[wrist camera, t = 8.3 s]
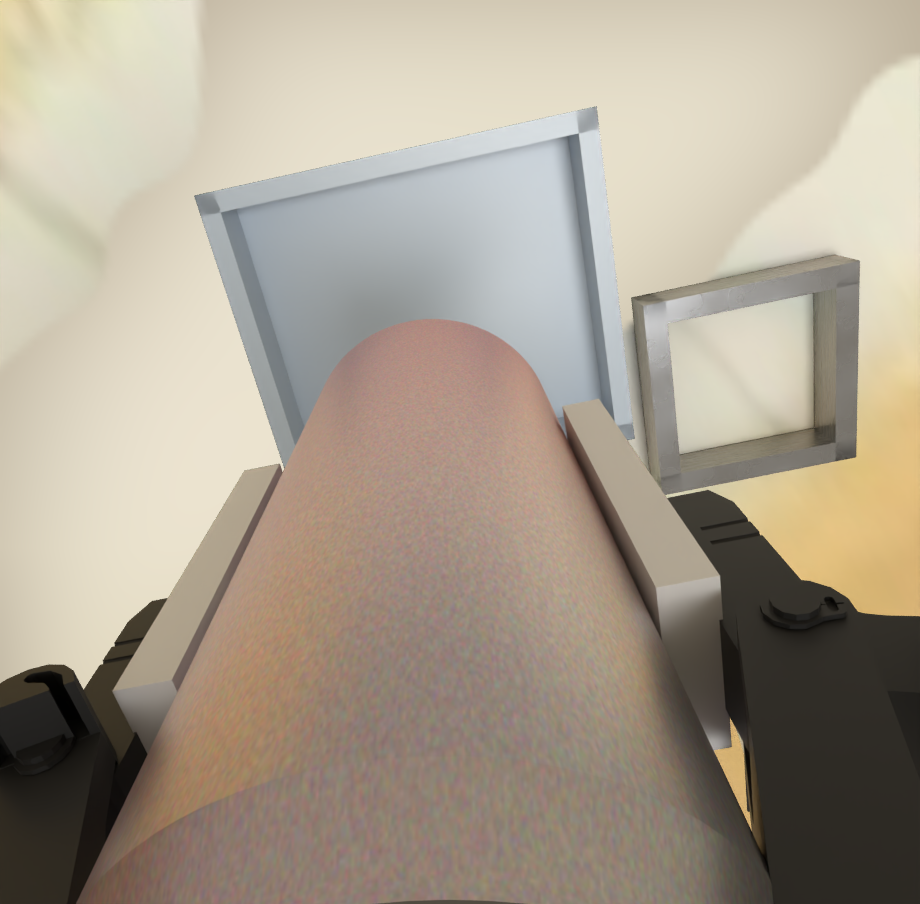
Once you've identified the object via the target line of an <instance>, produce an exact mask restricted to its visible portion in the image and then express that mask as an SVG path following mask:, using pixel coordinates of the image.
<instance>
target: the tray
mask: <svg viewBox="0 0 920 904" xmlns="http://www.w3.org/2000/svg"><path fill="white" fill-rule="evenodd" d="M194 197H195V200H196V202H197V206H198V209H199V212H200V215H201V218H202V221H203V224H204V227H205V229H206V233H207V236H208V239H209V242H210V245H211V248H212V251H213V254H214V257H215V260H216V263H217V266H218V269H219V272H220V275H221V278H222V281H223V284H224V287H225V290H226V293H227V296H228V299H229V302H230V305H231V308H232V311H233V314H234V318H235V320H236V323H237V327H238V329H239V332H240V336H241V339H242V342H243V345H244V348H245V351H246V354H247V357H248V360H249V363H250V366H251V369H252V372H253V375H254V378H255V381H256V384H257V387H258V390H259V393H260V396H261V399H262V402H263V405H264V408H265V411H266V414H267V417H268V420H269V423H270V426H271V429H272V432H273V435H274V438H275V441H276V444H277V448H278V450H279V454H280V457H281V460H282V463H283V466H284V469H285V467H286V465H287V462H288V460H289V458H290V456H291V454H292V452H293V450H294V448H295V446H296V444H297V442H298V440H299V437H300V435H301V433H302V431H303V429H304V427H305V425H306V423H307V421H308V419H309V417H310V414H311V412H312V410H313V408H314V406H315V404H316V402H317V400H318V398H319V396H320V394H321V392H322V389H323V387H324V385H325V383H326V381H327V379H328V378H329V376H330V374H331V373H332V371H333V370H334V368H335V367H336V365H337V364H338V363H339V362H340V361H341V359H342V358H343V357H344V356H345V355H346V354H347V353H348V352H349V351H350V350H351V349H353V348H354V347H355V346H356V345H357V344H359V343H360V342H361V341H363V340H364V339H366V338H368V337H369V336H371V335H373V334H375V333H376V332H378V331H380V330H383V329H385V328H388V327H390V326H393V325H396V324H400V323H404V322H408V321H414V320H422V319H444V320H452V321H458V322H463V323H467V324H470V325H473V326H476V327H479V328H481V329H483V330H486V331H488V332H490V333H492V334H494V335H495V336H497V337H499V338H500V339H502V340H503V341H505V342H506V343H507V344H509V345H510V346H511V347H513V348H514V349H515V350H516V351H517V352H518V353H519V354H520V355H521V356H522V357H523V358H524V359H525V360H526V361H527V363H528V364H529V365H530V366H531V368H532V369H533V371H534V372H535V374H536V375H537V377H538V379H539V381H540V383H541V385H542V387H543V389H544V391H545V393H546V395H547V397H548V399H549V402H550V404H551V406H552V408H553V410H554V412H555V414H556V416H557V419H558V421H559V423H560V425H561V427H562V429H563V431H564V433H565V436H566V438H567V434H566V428H565V421H564V415H563V408H562V406H565V405H570V404H575V403H580V402H585V401H590V400H595V399H599V400H600V401H601V403H602V404H603V406H604V407H605V408H606V410H607V411H608V413H609V414H610V416H611V417H612V419H613V420H614V422H615V423H616V425H617V426H618V427H619V429H620V430H621V432H622V433H623V435H624V436H625V438H626V439H627V440H630V439H635V437H634V428H633V420H632V411H631V402H630V393H629V385H628V376H627V367H626V359H625V350H624V341H623V332H622V324H621V315H620V306H619V297H618V289H617V280H616V272H615V263H614V254H613V245H612V236H611V228H610V219H609V210H608V201H607V193H606V184H605V175H604V168H603V158H602V149H601V140H600V131H599V123H598V115H597V106H596V107H592V108H587V109H582V110H578V111H573V112H569V113H564V114H560V115H555V116H551V117H546V118H542V119H537V120H533V121H528V122H524V123H519V124H515V125H511V126H506V127H501V128H497V129H492V130H488V131H483V132H479V133H475V134H470V135H465V136H461V137H456V138H452V139H447V140H443V141H438V142H434V143H429V144H425V145H420V146H416V147H411V148H407V149H402V150H398V151H394V152H389V153H384V154H380V155H375V156H371V157H366V158H362V159H357V160H353V161H348V162H344V163H339V164H335V165H330V166H326V167H321V168H317V169H312V170H308V171H304V172H299V173H294V174H290V175H285V176H281V177H276V178H272V179H267V180H263V181H258V182H254V183H249V184H245V185H240V186H236V187H231V188H227V189H222V190H218V191H213V192H209V193H204V194H200V195H195V196H194Z"/></svg>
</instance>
